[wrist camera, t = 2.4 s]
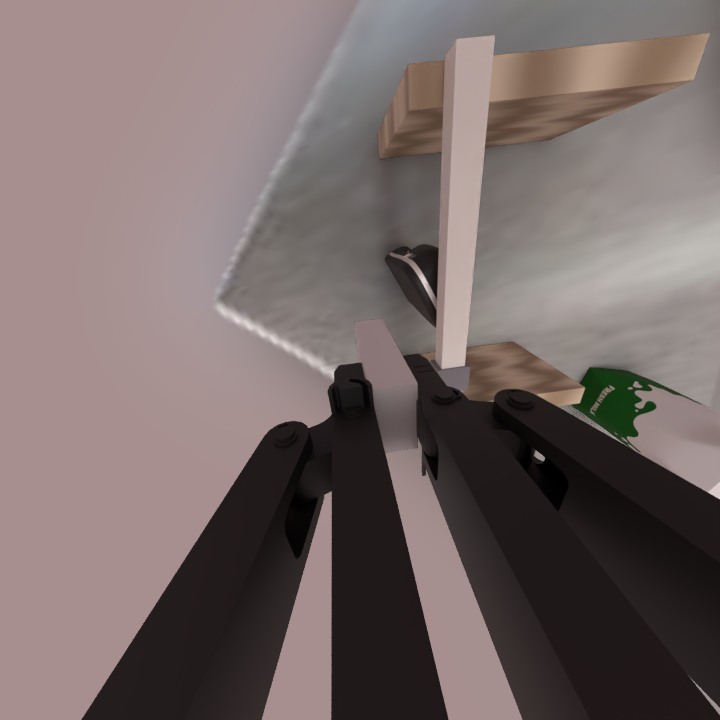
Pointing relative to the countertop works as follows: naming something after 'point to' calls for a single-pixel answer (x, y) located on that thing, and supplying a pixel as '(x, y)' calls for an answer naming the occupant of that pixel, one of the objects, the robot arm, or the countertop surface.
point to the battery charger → (417, 277)
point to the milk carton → (656, 424)
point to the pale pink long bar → (460, 198)
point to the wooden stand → (537, 123)
